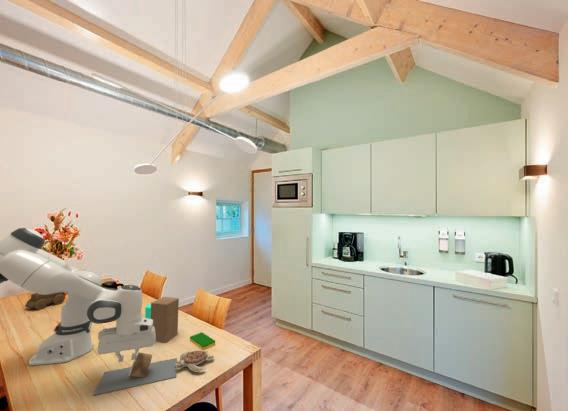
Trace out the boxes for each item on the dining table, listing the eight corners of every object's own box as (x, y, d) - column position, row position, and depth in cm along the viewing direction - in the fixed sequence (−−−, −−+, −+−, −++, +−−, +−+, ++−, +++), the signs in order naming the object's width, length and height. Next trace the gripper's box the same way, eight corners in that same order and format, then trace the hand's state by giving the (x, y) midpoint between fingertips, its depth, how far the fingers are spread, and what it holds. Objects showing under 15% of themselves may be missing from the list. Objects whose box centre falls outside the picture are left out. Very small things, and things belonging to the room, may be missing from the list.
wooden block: (165, 343, 127) (167, 304, 127) (149, 340, 129) (150, 302, 129) (177, 334, 136) (179, 297, 137) (162, 332, 138) (163, 296, 139)
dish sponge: (201, 336, 135) (201, 331, 135) (215, 345, 126) (215, 340, 126) (189, 341, 130) (189, 336, 130) (203, 351, 121) (203, 346, 121)
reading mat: (93, 395, 89) (93, 394, 89) (104, 372, 102) (104, 371, 102) (176, 377, 100) (176, 376, 100) (177, 358, 113) (177, 357, 113)
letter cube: (135, 360, 98) (150, 362, 100) (137, 352, 104) (152, 354, 106) (128, 375, 97) (144, 377, 99) (131, 366, 103) (146, 368, 105)
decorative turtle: (167, 361, 110) (167, 350, 110) (201, 349, 122) (202, 338, 122) (183, 381, 97) (184, 368, 97) (220, 365, 109) (221, 354, 109)
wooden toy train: (58, 300, 186) (59, 278, 186) (68, 302, 182) (69, 279, 183) (23, 309, 167) (24, 285, 167) (33, 312, 163) (34, 287, 164)
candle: (142, 324, 148) (143, 304, 148) (151, 320, 153) (151, 301, 154) (149, 326, 146) (150, 305, 146) (158, 322, 151) (158, 302, 152)
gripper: (95, 333, 93) (93, 370, 93) (155, 325, 101) (154, 359, 100) (100, 326, 99) (99, 360, 99) (157, 319, 107) (155, 351, 106)
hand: (127, 359), depth 100 cm, fingers open, 3 cm apart
